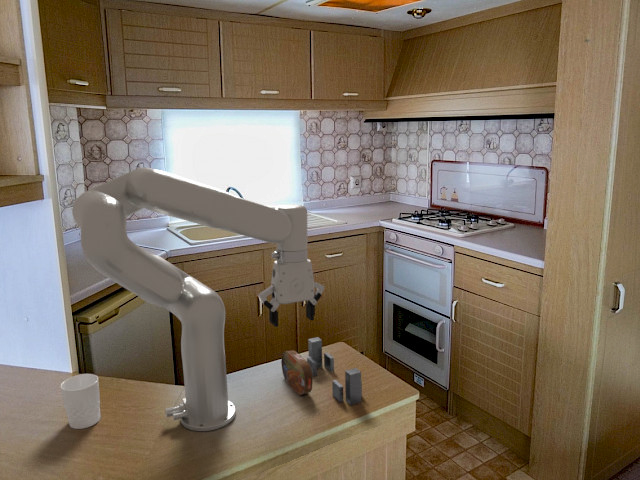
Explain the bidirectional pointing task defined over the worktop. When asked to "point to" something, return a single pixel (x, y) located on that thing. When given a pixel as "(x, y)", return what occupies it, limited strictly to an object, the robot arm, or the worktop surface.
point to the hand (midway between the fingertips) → (292, 321)
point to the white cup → (81, 400)
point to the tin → (297, 372)
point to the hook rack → (351, 376)
